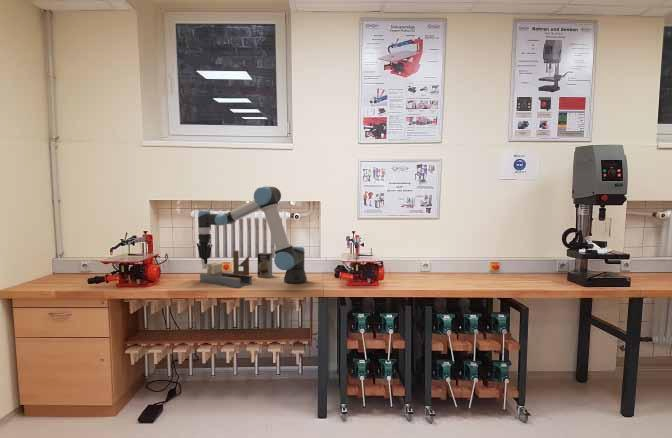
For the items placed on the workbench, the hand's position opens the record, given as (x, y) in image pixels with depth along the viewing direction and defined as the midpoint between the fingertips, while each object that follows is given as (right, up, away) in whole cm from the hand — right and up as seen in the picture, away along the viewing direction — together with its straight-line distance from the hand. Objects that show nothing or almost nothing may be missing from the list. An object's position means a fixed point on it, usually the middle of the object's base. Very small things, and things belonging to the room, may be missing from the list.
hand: (204, 268), depth 246 cm
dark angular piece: (+22, -7, +11) cm, 25 cm away
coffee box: (+38, -7, +12) cm, 41 cm away
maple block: (+8, -6, -4) cm, 11 cm away
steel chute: (+17, -8, -9) cm, 21 cm away
